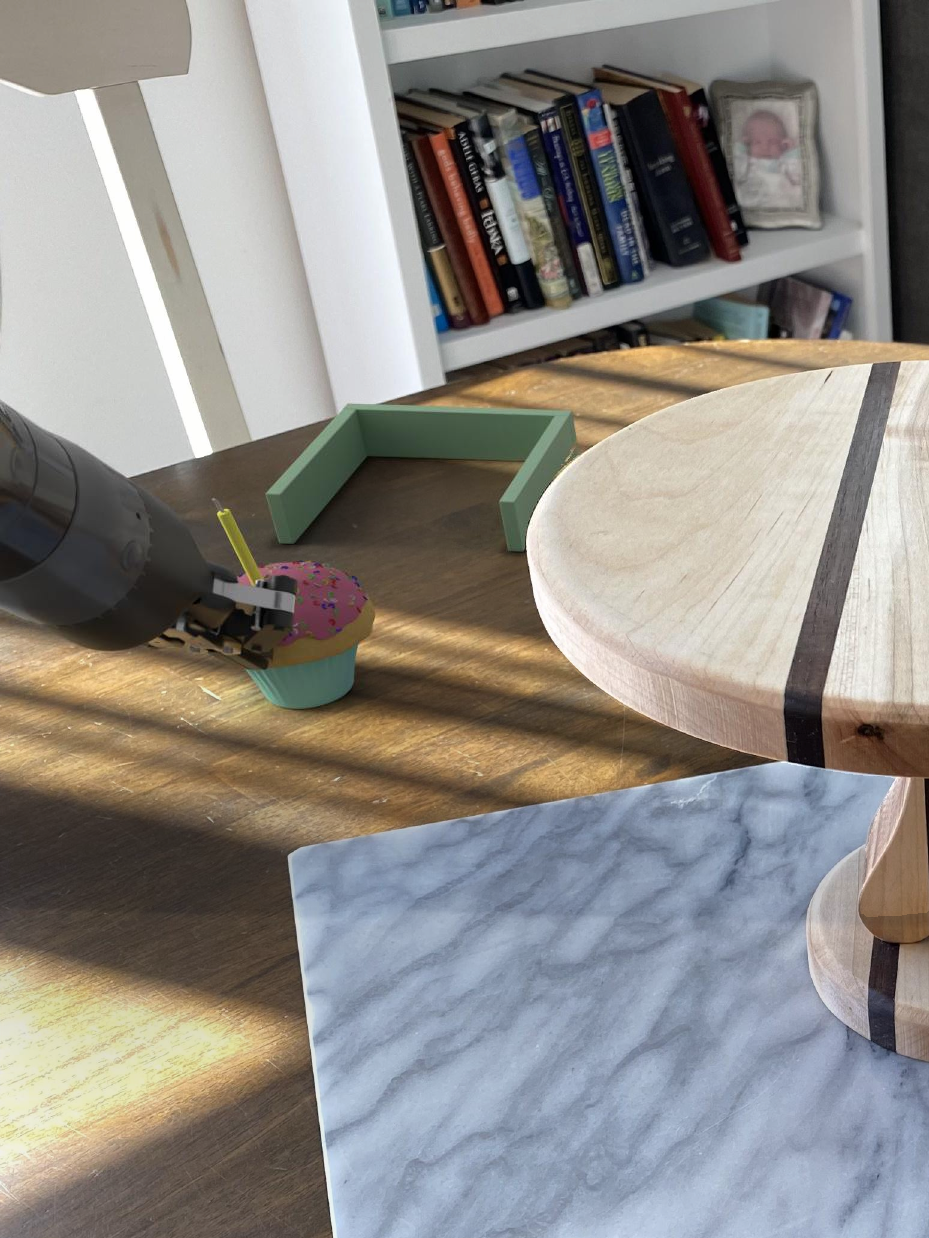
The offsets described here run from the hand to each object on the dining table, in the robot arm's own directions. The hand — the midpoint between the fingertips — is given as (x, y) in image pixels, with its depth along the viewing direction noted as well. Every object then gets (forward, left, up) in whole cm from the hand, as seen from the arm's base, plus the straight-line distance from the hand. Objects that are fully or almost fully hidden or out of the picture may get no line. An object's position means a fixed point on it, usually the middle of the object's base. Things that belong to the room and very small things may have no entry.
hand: (255, 651), depth 89 cm
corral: (+20, +21, -5) cm, 29 cm away
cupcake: (+3, +3, -5) cm, 7 cm away
